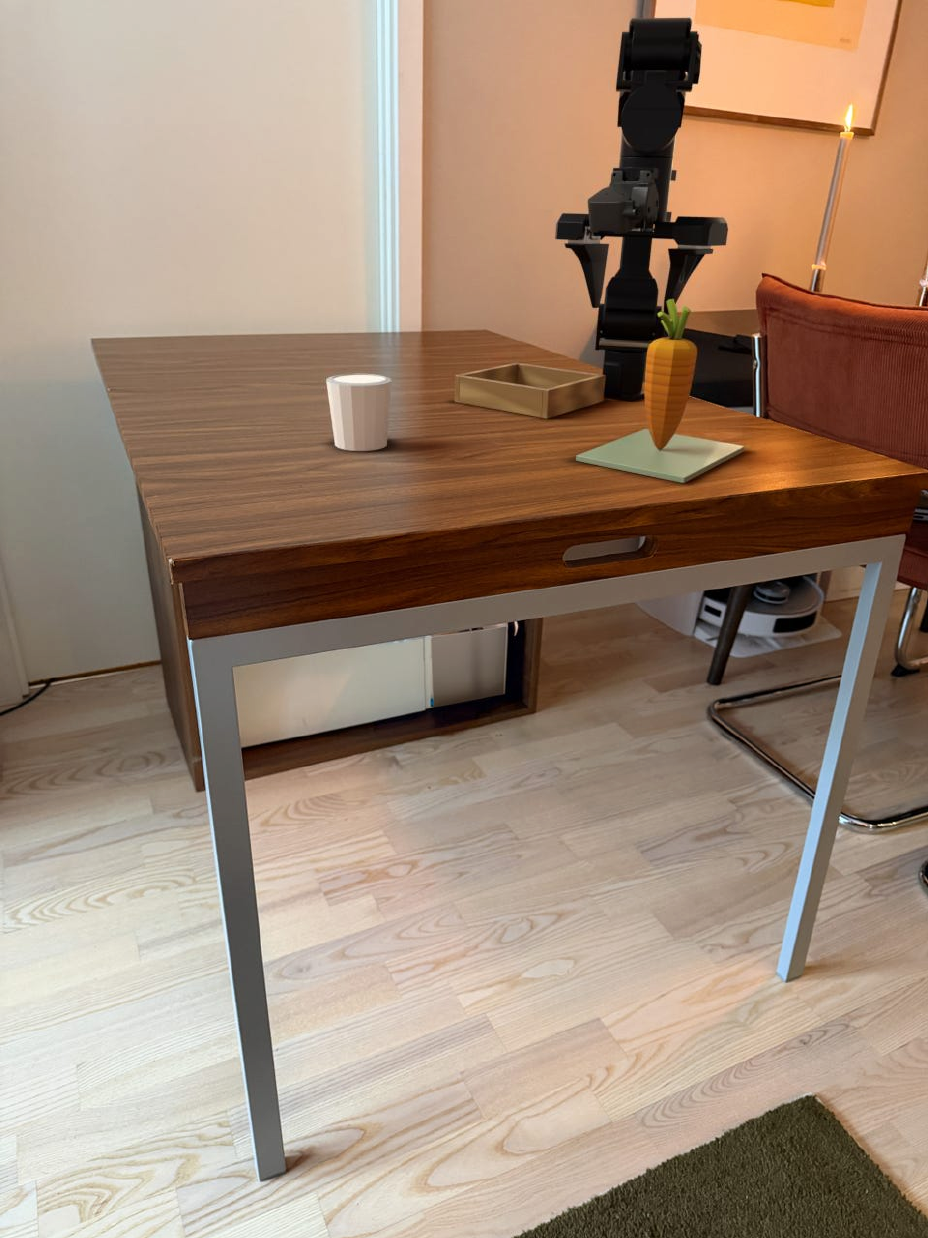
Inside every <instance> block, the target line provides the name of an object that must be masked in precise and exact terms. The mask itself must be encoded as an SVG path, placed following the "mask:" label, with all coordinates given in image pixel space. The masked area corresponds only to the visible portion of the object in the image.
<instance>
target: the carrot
mask: <svg viewBox="0 0 928 1238" xmlns="http://www.w3.org/2000/svg"><path fill="white" fill-rule="evenodd" d="M666 303H667V307H668V311H669V315H667V314H665V313H664V311H663V312H659V313H658V317H659V318H661V319H662V321H661V322H662V324H663V326H664V331H666V333H667V334H668V336H666V337H663V338H660V339H657V340H655V341H652V342H651V343H649V344H650V345H649V347H648V350H647V352H646V359H645V369H644V387H643V389H644V395H645V396H644V409H645V410H644V411H645V420H646V424H647V429H649V432H650V435H651V437H652V440H653V443H654V445H655V446H656V448H657V449H658V450H662V449H663V448H664V447H665V446H666V445H667V444H668V442H669V441H670V439H671V438H672V436H673V435H674V434H676V431H677V429H678V428H679V426H680V423H681V421H682V419H683V416H684V413H685V411H686V407H687V404H688V401H689V398H690V394H691V390H692V386H693V380H694V375H695V370H696V363H697V357H698V348H697V346H696V344H695V343H694V342H693V341H691V340H688V339H686V338H682V336H683V333H684V332H685V328H686V327H687V323H688V321H689V316H690V314H691V312H692V310H691V309H690V308H689V307H688V306H684V305H682V308H681V313H680V317H679V315H678V308H677V305H676V304H675V302H674V299H669V300H668V301H666Z"/></svg>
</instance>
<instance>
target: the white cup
mask: <svg viewBox="0 0 928 1238" xmlns="http://www.w3.org/2000/svg"><path fill="white" fill-rule="evenodd" d="M325 381H326V382H325V383H326V388H327V397H328V403H329V410H330V411H329V412H330V418H331V419H330V420H331V425H332V433H333V441H334V446H335V447H336V448H338V449H341V450H344V451H353V452H369V451H377V450H381V449H384V448H385V447H387V446H388V445H387V444H388V430H389V418H390V403H391V388H392V378H390V377H388V376H386V375H380V374H374V373H373V374H372V373H344V374H343V373H342V374H338V375H337V374H336V375H332V376H329V377H327V378H326V380H325Z"/></svg>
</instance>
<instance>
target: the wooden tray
mask: <svg viewBox="0 0 928 1238" xmlns="http://www.w3.org/2000/svg"><path fill="white" fill-rule="evenodd" d="M605 379H606V375H602V374H599V373H594V372H593V373H592V372H586V371H578V370H571V369H565V368H558V367H549V366H543V365H536V364H530V363H529V364H528V363H523V362H513V363H508V364H503V365H498V366H494V367H489V368H484V369H479V370H474V371H470V372H465V373H459V374H455V375H454V402H455V403H458V404H463V405H469V406H475V407H480V408H487V409H490V410H498V411H503V412H508V413H513V414H519V415H525V416H528V417H529V416H530V417H536V418H540V419H551V418H554V417H557V416H560V415H563V414H568V413H569V412H574V411H577V410H579V409H583V408H586V407H590V406H592V405H596V404H600V403H602V402H604V398H605V396H604V389H605Z"/></svg>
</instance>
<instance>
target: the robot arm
mask: <svg viewBox="0 0 928 1238" xmlns="http://www.w3.org/2000/svg"><path fill="white" fill-rule="evenodd" d="M692 25H693V20H692V18H691V17H641V18H640V17H632V18H631V19H630V20H629V26H628V31H621V37H620V47H619V48H620V49H619V55H618V65H617V73H616V83H615V92H617V93H619V95H618V108H617V125H616V127H617V128H620V129H621V139H620V149H619V151H620V152H619V160H618V161H619V162H618V167H613V168H612V172H611V174H610V182H609V185H608V186H606V187H603V188H601V189H600V190H599V191H598V192H596V193H595V194H593V195H592V196H591V197H589V198H588V199H587V211H588V213H573V212H571V213H570V212H567V213H566V212H562V213H561V214H560V216H559V217H558V219H557V221H556V223H555V232H554V233H555V235H554V239H555V240H565V241H567V242H565V243H564V247H565V249H569V250H571V251H572V252H573V253H574V255H575V256H576V258H577V259H578V262H579V264H580V266H581V269H582V272H583V276H584V280H585V285H586V289H587V293H588V296H589V300H590V305H591V308H592V309H598V310H597V320H596V333H595V334H596V336H595V346H594V347H595V348H594V351H604V356H603V365H602V374H601V375H606V379H605V389H604V397H607V398H614V399H621V400H626V401H634V400H637V399H640V398H644V397H645V395H644V388H643V384H644V377H645V369H646V358H647V350H648V347H649V345H650V344H651V343H649V342H650V341H652V342H653V341H655V340H657V339H660V338H664V334H665V328H664V326H663V324H662V322H661V321H662V319H661V318H659V317H658V313H659V312H664V313H665V314H667V315H668V316H670V315H669V311H668V307H667V303H666V301H668V300H669V299H674V302H675V305H676V304H677V302H678V300H679V298H680V297H681V295H682V293H683V291H684V289H685V287H686V285H687V283H688V282H689V280H690V278H691V276H692V275H693V273H694V272H695V271H696V269H697V267H698V266H699V264H700V263H701V262H702V260H703V259H704V257H705V256H706V255H712V254H713V253H714V248H712V247H717V246H719V247H720V246H721V247H722V246H727V240H728V233H729V227H728V223H727V221H726V219H725V217H723V216H720V217H719V216H686V215H684V216H681V215H677V216H676V218H675V221H672V211H668V207H669V199H670V189H671V181H672V182H675V181H676V180H677V173H678V170H676V169H673V165H674V163H673V162H674V156H675V147H676V138H677V133H678V132H679V129H680V128H682V123H683V116H684V111H685V104H686V96H687V95H686V94H687V93H692V91H693V87H694V86H693V85H699V81H700V74H701V64H702V62H701V61H702V60H701V59H702V49H703V48H702V47H703V45H702V43H701V42H700V34H699V33H698V30H692ZM605 237H607V238H608V237H609V238H621V239H622V241H621V249H620V251H621V252H620V258H619V259H620V260H619V267H618V270H617V271H616V272H615V274H614V276H611V278H610V280H609V281H608V283H607V285H606V287H605V294H604V300H603V301H604V302H603V303H601V301H602V297H603V293H604V292H603V291H604V285H605V284H604V283H605V276H606V269H607V263H608V262H607V261H608V255H609V248H610V243H602V242H601V241H602V240H603V239H604V238H605ZM653 239H654V240H657V239H658V240H673V241H674V242H675V244H676V245H677V247H671V248H670V247H669V248H667V253H668V260H669V268H668V276H667V280H666V285H665V292H664V298H663V306H662V305H658V299H659V291H660V290H659V287H658V286H659V285H658V282H657V280H656V278H654V277H653V275H652V273H651V271H650V264H651V256H652V255H651V254H652V246H653ZM602 339H604V340H602ZM605 340H606V341H605Z"/></svg>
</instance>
